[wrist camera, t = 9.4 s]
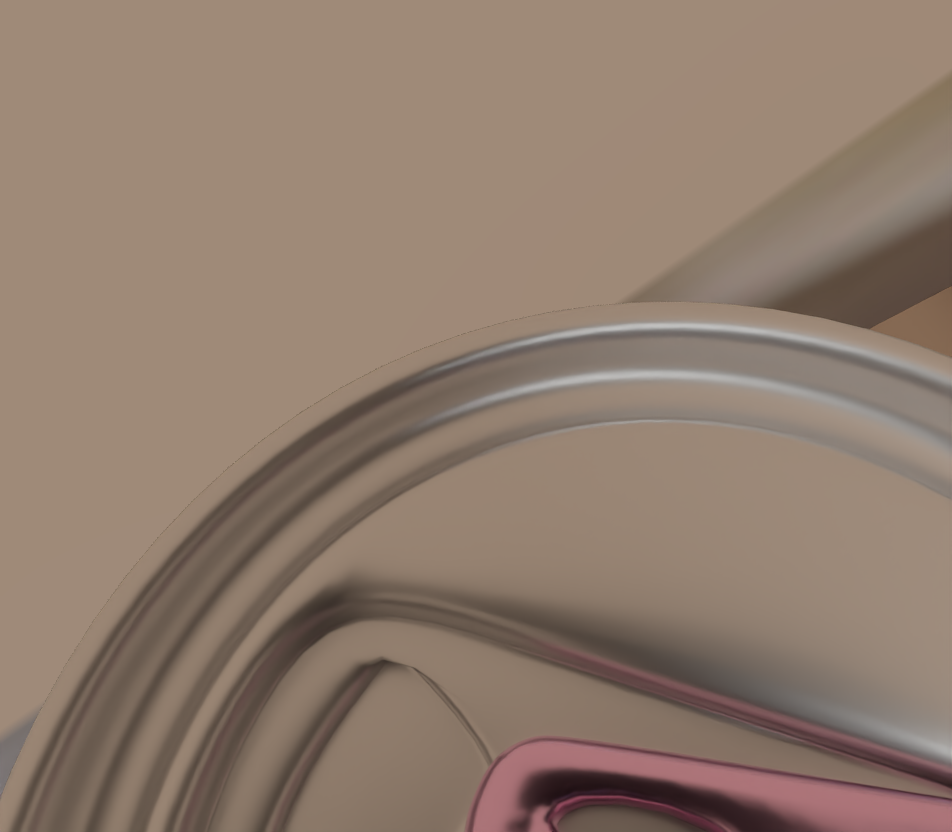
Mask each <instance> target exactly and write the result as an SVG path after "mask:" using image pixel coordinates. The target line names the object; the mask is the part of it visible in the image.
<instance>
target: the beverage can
mask: <svg viewBox="0 0 952 832" xmlns="http://www.w3.org/2000/svg"><path fill="white" fill-rule="evenodd" d="M0 832H952V357H950V356H947V355H944V354H942V353H939V352H937V351H934V350H931V349H929V348H926V347H923V346H921V345H918V344H915V343H912V342H908V341H905V340H902V339H899V338H896V337H892V336H889V335H886V334H883V333H879V332H876V331H873V330H870V329H866V328H862V327H858V326H853V325H849V324H845V323H841V322H837V321H833V320H829V319H825V318H820V317H815V316H809V315H804V314H798V313H792V312H787V311H781V310H776V309H768V308H759V307H750V306H742V305H733V304H720V303H700V302H634V303H622V304H609V305H597V306H588V307H582V308H574V309H568V310H561V311H555V312H548V313H543V314H538V315H534V316H529V317H525V318H520V319H515V320H511V321H506V322H503V323H499V324H495V325H492V326H489V327H485V328H482V329H478V330H475V331H471V332H468V333H464V334H461V335H458V336H456V337H453V338H450V339H447V340H445V341H442V342H439V343H437V344H434V345H431V346H428V347H426V348H423V349H420V350H418V351H416V352H413V353H411V354H409V355H407V356H404V357H402V358H400V359H398V360H395V361H393V362H391V363H388V364H386V365H384V366H382V367H380V368H378V369H376V370H374V371H372V372H370V373H368V374H366V375H364V376H362V377H360V378H359V379H357V380H355V381H353V382H351V383H349V384H347V385H345V386H343V387H341V388H340V389H338V390H336V391H335V392H333V393H332V394H330V395H328V396H327V397H325V398H324V399H322V400H320V401H318V402H317V403H315V404H314V405H312V406H310V407H309V408H307V409H306V410H304V411H302V412H301V413H299V414H298V415H297V416H295V417H294V418H292V419H291V420H290V421H288V422H287V423H285V424H284V425H282V426H281V427H280V428H278V429H277V430H275V431H274V432H273V433H271V434H270V435H269V436H267V437H266V438H264V439H263V440H262V441H260V442H259V443H258V444H257V445H256V446H254V447H253V448H252V449H251V450H250V451H248V452H247V453H246V454H244V455H243V456H242V457H241V458H240V459H238V460H237V461H236V462H235V463H233V464H232V465H231V466H230V467H229V468H227V469H226V470H225V471H224V472H223V473H222V474H221V475H220V476H219V477H218V478H217V479H216V480H215V481H213V483H211V484H210V485H209V486H208V487H207V488H206V489H205V490H204V491H203V492H202V493H201V494H199V496H197V497H196V498H195V499H194V500H193V501H192V502H191V503H190V504H189V505H188V506H187V507H186V508H185V509H184V510H183V511H182V513H181V514H180V515H179V516H178V517H177V518H176V519H175V520H174V521H173V522H172V523H171V524H170V525H169V526H168V527H167V529H166V530H165V531H164V532H163V533H162V534H161V535H160V536H159V537H158V538H157V539H156V540H155V542H154V543H153V544H152V545H151V547H150V548H149V549H148V550H147V551H146V553H145V554H144V555H143V556H142V557H141V559H140V560H139V561H138V562H137V563H136V565H135V566H134V567H133V568H132V569H131V571H130V572H129V573H128V574H127V575H126V577H125V578H124V579H123V581H122V582H121V584H120V585H119V586H118V588H117V589H116V591H115V592H114V593H113V595H112V596H111V597H110V599H109V600H108V601H107V603H106V604H105V606H104V607H103V608H102V610H101V611H100V612H99V614H98V615H97V617H96V618H95V619H94V621H93V622H92V624H91V626H90V627H89V629H88V630H87V632H86V634H85V635H84V637H83V638H82V640H81V641H80V643H79V645H78V646H77V648H76V649H75V651H74V653H73V654H72V656H71V657H70V659H69V660H68V662H67V663H66V665H65V667H64V668H63V671H62V672H61V674H60V676H59V677H58V679H57V681H56V683H55V685H54V687H53V688H52V690H51V692H50V694H49V696H48V697H47V699H46V701H45V703H44V705H43V707H42V708H41V710H40V712H39V714H38V716H37V718H36V720H35V722H34V724H33V726H32V728H31V730H30V732H29V734H28V737H27V739H26V741H25V743H24V745H23V747H22V749H21V751H20V754H19V756H18V758H17V760H16V762H15V764H14V766H13V768H12V770H11V773H10V775H9V778H8V780H7V783H6V785H5V788H4V790H3V793H2V795H1V798H0Z"/></svg>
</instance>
